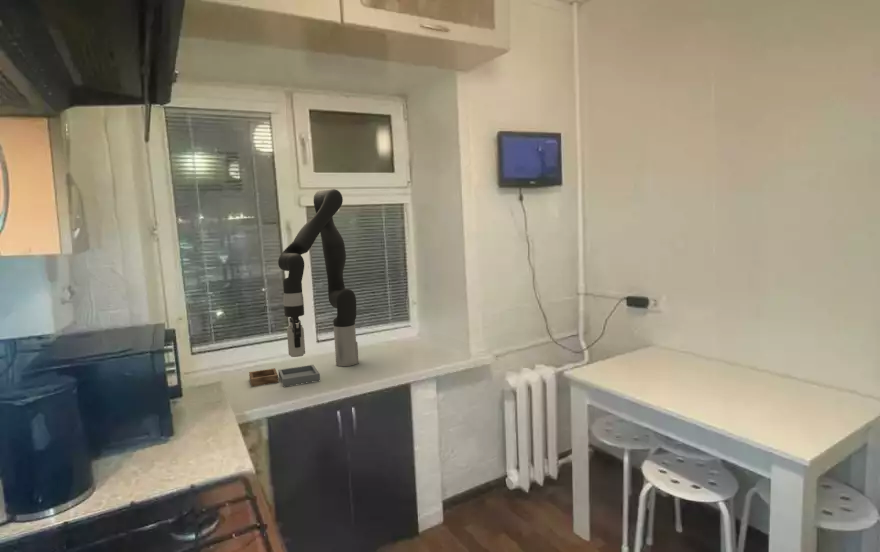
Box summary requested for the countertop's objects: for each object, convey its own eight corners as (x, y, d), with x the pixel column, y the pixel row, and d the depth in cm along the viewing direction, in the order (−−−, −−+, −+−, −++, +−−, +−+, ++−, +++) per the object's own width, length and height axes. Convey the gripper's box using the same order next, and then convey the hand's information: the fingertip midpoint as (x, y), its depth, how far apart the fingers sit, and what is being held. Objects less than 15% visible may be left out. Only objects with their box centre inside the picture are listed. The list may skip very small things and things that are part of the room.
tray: (313, 371, 214) (313, 364, 214) (320, 380, 202) (319, 373, 201) (278, 376, 209) (278, 369, 208) (283, 387, 196) (282, 379, 196)
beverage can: (300, 357, 201) (298, 327, 199) (285, 357, 202) (283, 327, 200) (308, 353, 207) (306, 324, 205) (293, 353, 208) (291, 324, 207)
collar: (275, 375, 211) (275, 368, 211) (278, 382, 202) (277, 374, 202) (249, 379, 207) (249, 372, 207) (251, 386, 198) (250, 379, 198)
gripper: (306, 305, 196) (309, 348, 198) (300, 300, 210) (303, 340, 212) (286, 307, 194) (289, 351, 196) (281, 302, 207) (284, 343, 209)
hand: (296, 345), depth 204 cm, fingers closed on beverage can, 5 cm apart
